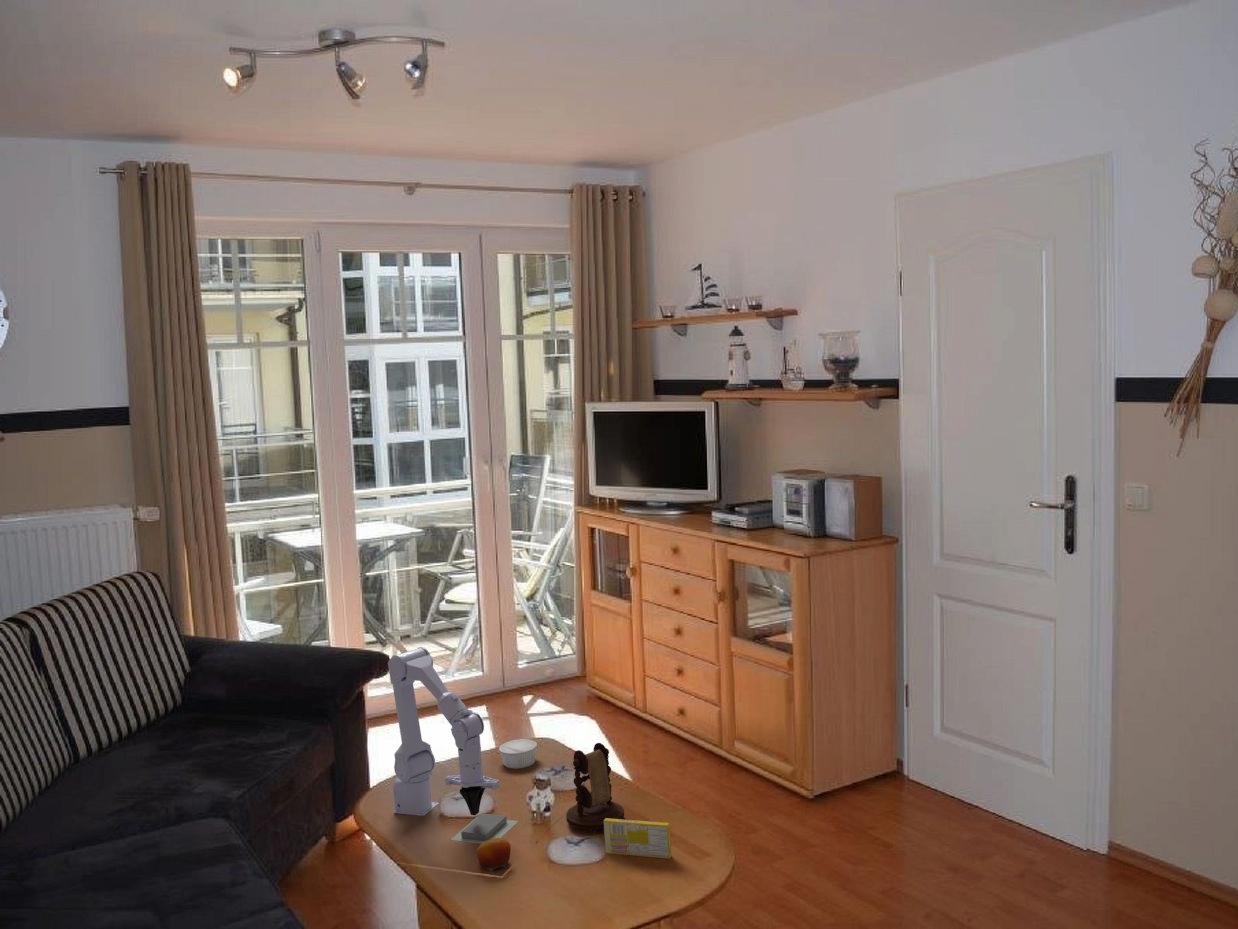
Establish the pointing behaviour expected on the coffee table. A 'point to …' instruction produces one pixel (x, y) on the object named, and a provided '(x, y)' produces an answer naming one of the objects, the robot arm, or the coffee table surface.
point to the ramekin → (518, 753)
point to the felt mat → (497, 834)
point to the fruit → (494, 853)
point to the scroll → (593, 791)
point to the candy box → (637, 838)
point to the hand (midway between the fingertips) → (474, 813)
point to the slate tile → (484, 827)
